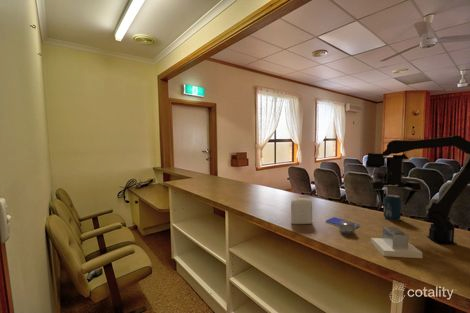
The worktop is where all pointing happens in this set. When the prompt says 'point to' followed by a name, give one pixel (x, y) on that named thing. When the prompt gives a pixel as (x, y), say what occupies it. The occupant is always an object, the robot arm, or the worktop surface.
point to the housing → (395, 238)
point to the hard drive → (336, 221)
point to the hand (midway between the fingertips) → (392, 204)
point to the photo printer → (301, 211)
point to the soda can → (392, 207)
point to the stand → (388, 251)
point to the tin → (346, 227)
